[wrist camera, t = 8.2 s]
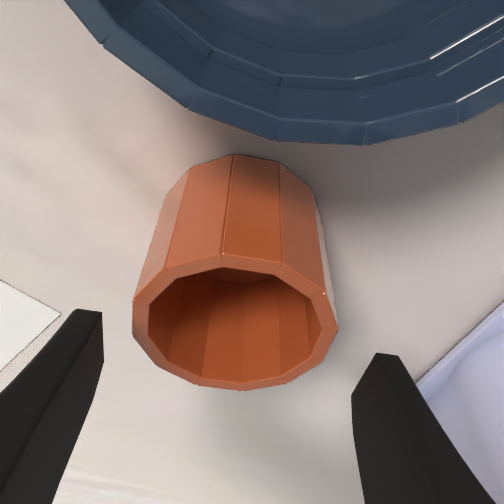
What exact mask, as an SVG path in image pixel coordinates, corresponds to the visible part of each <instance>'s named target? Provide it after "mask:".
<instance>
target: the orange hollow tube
mask: <svg viewBox="0 0 504 504" xmlns="http://www.w3.org/2000/svg"><path fill="white" fill-rule="evenodd" d="M337 331H338V322H337V316H336V309H335V303H334V296H333V290H332V284H331V277H330V271H329V265H328V258H327V252H326V245H325V239H324V233H323V226H322V221H321V217H320V214H319V211H318V208H317V205H316V201H315V198H314V195H313V192H312V190H311V188H310V187H309V186H308V185H306V184H305V183H304V182H303V181H301V180H300V179H299V178H298V177H296V176H295V175H294V174H293V173H292V172H290V171H289V170H288V169H287V168H285V167H284V166H283V165H282V164H280V163H278V162H275V161H269V160H264V159H258V158H253V157H247V156H242V155H236V154H234V155H228V156H225V157H222V158H219V159H216V160H212V161H209V162H206V163H203V164H199V165H196V166H193V167H192V168H190V169H189V170H188V171H187V172H186V173H185V174H184V175H183V177H182V178H181V179H180V180H179V181H178V182H177V183H176V185H175V186H174V187H173V188H172V189H171V190H170V192H169V193H168V194H167V195H166V197H165V200H164V203H163V206H162V210H161V213H160V216H159V219H158V222H157V225H156V228H155V231H154V235H153V238H152V241H151V244H150V247H149V250H148V253H147V257H146V260H145V263H144V266H143V269H142V272H141V275H140V278H139V282H138V285H137V288H136V291H135V294H134V297H133V306H132V335H133V337H134V339H135V340H136V341H137V342H138V344H139V345H140V346H141V347H142V349H143V350H144V351H145V352H146V354H147V355H148V356H149V357H150V359H151V360H152V361H153V362H154V364H155V365H157V366H158V367H159V368H162V369H164V370H166V371H168V372H170V373H172V374H174V375H176V376H178V377H180V378H182V379H184V380H186V381H188V382H190V383H192V384H195V385H198V386H205V387H213V388H220V389H228V390H236V391H248V390H254V389H259V388H265V387H271V386H276V385H282V384H287V383H289V382H291V381H293V380H294V379H296V378H298V377H299V376H301V375H302V374H304V373H306V372H307V371H309V370H311V369H312V368H314V367H315V366H317V365H319V364H320V363H322V361H324V358H325V356H326V354H327V352H328V350H329V348H330V346H331V344H332V342H333V340H334V338H335V335H336V333H337Z"/></svg>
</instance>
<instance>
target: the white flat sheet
mask: <svg viewBox="0 0 504 504" xmlns="http://www.w3.org/2000/svg"><path fill="white" fill-rule="evenodd" d="M60 314H61V313H59V312H57V311H55V310H53V309H51V308H50V307H48V306H46V305H44V304H42V303H40V302H39V301H37V300H35V299H33V298H31V297H29V296H28V295H26V294H24V293H22V292H20V291H18V290H17V289H15V288H13V287H11V286H9V285H7V284H6V283H4V282H2V281H0V370H1V369H2V368H3V367H4V366H5V365H7V364H8V363H9V362H10V361H11V360H12V359H13V358H14V357H15V356H16V355H17V354H18V353H19V352H20V351H22V350H23V349H24V348H25V347H26V346H27V345H28V344H29V343H30V342H31V341H32V340H33V339H34V338H35V337H37V336H38V335H39V334H40V333H41V332H42V331H43V330H44V329H45V328H46V327H47V326H48V325H49V324H50V323H52V322H53V321H54V320H55V319H56V318H57V317H58V316H59V315H60Z"/></svg>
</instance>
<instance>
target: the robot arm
mask: <svg viewBox="0 0 504 504" xmlns="http://www.w3.org/2000/svg"><path fill="white" fill-rule="evenodd" d="M103 363H104V350H103V326H102V312H97V311H90V310H83V309H76V310H74V311H73V312H72V313H71V314H70V316H69V317H68V318H67V319H66V321H65V322H64V323H63V324H62V326H61V327H60V328H59V329H58V331H57V332H56V333H55V334H54V335H53V337H52V338H51V339H50V340H49V341H48V342H47V344H46V345H45V346H44V347H43V348H42V349H41V350H40V352H39V353H38V354H37V355H36V356H35V357H34V358H33V359H32V360H31V362H30V363H29V364H28V365H27V366H26V367H25V368H24V369H23V370H22V371H21V372H20V373H19V374H18V376H17V377H16V378H15V379H14V380H13V381H12V382H11V383H10V384H9V385H8V386H7V387H6V388H5V389H4V390H3V391H2V392H1V393H0V504H52V502H53V499H54V496H55V494H56V491H57V488H58V485H59V483H60V480H61V478H62V476H63V473H64V471H65V468H66V466H67V463H68V461H69V458H70V456H71V453H72V451H73V448H74V446H75V444H76V441H77V439H78V436H79V434H80V431H81V429H82V426H83V424H84V421H85V419H86V416H87V414H88V411H89V409H90V406H91V404H92V401H93V398H94V395H95V391H96V388H97V385H98V381H99V377H100V374H101V370H102V367H103ZM351 403H352V424H353V436H354V442H355V448H356V454H357V460H358V466H359V472H360V478H361V483H362V489H363V495H364V501H365V504H504V302H503V303H502V304H501V305H499V306H498V307H497V308H496V309H495V310H494V311H493V312H492V313H491V314H490V315H489V316H488V317H487V318H485V319H484V320H483V321H482V322H481V323H480V324H479V325H478V326H477V327H476V328H475V329H474V330H473V331H471V332H470V333H469V334H468V335H467V336H466V337H465V338H464V339H463V340H462V341H461V342H460V343H459V344H457V345H456V346H455V347H454V348H453V349H452V350H451V351H450V352H449V353H448V354H447V355H446V356H445V357H444V358H442V359H441V360H440V361H439V362H438V363H437V364H436V365H435V366H434V367H433V368H432V369H431V370H430V371H428V372H427V373H426V374H425V375H424V376H423V377H422V378H421V379H420V380H419V381H418V382H417V383H416V384H415V383H414V381H413V379H412V378H411V376H410V374H409V373H408V371H407V369H406V368H405V366H404V364H403V363H402V361H401V360H400V358H399V356H396V355H389V354H382V353H376V354H375V356H374V357H373V359H372V361H371V362H370V364H369V366H368V368H367V369H366V371H365V373H364V374H363V376H362V378H361V379H360V381H359V383H358V384H357V386H356V388H355V390H354V391H353V393H352V395H351Z"/></svg>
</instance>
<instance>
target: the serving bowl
mask: <svg viewBox="0 0 504 504" xmlns="http://www.w3.org/2000/svg"><path fill="white" fill-rule="evenodd" d="M64 1H65V2H66V4H67V5H68V6H69V7H70V8H71V10H72V11H73V12H74V13H75V15H76V16H77V17H78V18H79V20H80V21H81V22H82V23H83V24H84V26H85V27H86V28H87V29H88V31H89V32H90V33H91V34H92V35H93V37H94V38H95V39H96V40H97V42H98V43H99V44H103V47H104V48H105V49H106V50H107V51H109V52H110V53H111V54H113V55H114V56H115V57H117V58H118V59H120V60H121V61H122V62H124V63H125V64H126V65H128V66H129V67H130V68H132V69H133V70H135V71H136V72H137V73H139V74H140V75H141V76H143V77H144V78H145V79H147V80H148V81H150V82H151V83H152V84H154V85H155V86H156V87H158V88H159V89H160V90H162V91H163V92H164V93H166V94H167V95H169V96H170V97H171V98H173V99H174V100H175V101H177V102H178V103H179V104H181V105H182V106H184V107H185V108H187V107H188V110H190V111H193V112H196V113H198V114H201V115H204V116H207V117H209V118H212V119H215V120H217V121H220V122H223V123H226V124H228V125H231V126H234V127H237V128H239V129H242V130H245V131H248V132H250V133H253V134H256V135H259V136H261V137H264V138H267V139H270V140H273V141H274V140H276V141H282V142H301V143H319V144H337V145H356V146H363V145H364V144H365V145H372V144H376V143H380V142H385V141H389V140H393V139H398V138H402V137H407V136H411V135H415V134H420V133H424V132H428V131H433V130H437V129H441V128H446V127H450V126H455V125H458V124H459V122H460V123H464V122H465V121H467V120H469V119H471V118H473V117H475V116H477V115H479V114H481V113H483V112H485V111H487V110H489V109H491V108H493V107H495V106H497V105H499V104H501V103H503V102H504V0H64Z"/></svg>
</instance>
